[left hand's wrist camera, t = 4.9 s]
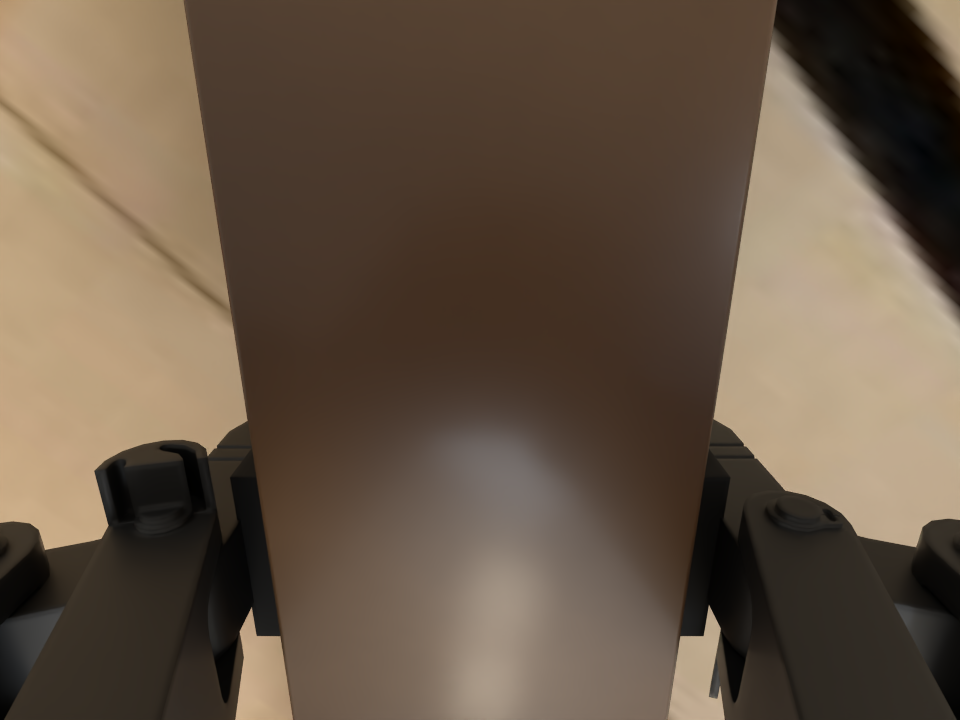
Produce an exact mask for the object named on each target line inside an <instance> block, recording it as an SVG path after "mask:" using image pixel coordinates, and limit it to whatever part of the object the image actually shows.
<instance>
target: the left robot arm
mask: <svg viewBox="0 0 960 720" xmlns="http://www.w3.org/2000/svg"><path fill="white" fill-rule="evenodd" d="M95 475H96V479H97V483H98V487H99V491H100V494H101V498H102V502H103V506H104V510H105V514H106V517H107V521H108V525H109V526H108V528H107V530H106V532H105V534H104V535H103V537H102V539H99V540H95V541H91V542H85V543H80V544H75V545H70V546H64V547H59V548H54V549H48V550H45V549H44V545H43V542H42V539H41V536H40V533H39V530H38V529H37V528H35V527H34V526H32V525H31V524H29V523H21V522H5V523H0V720H235V717H236V710H237V703H238V695H239V688H240V681H241V673H242V666H243V659H244V656H243V649H242V642H241V637H240V630H241V628H242V625H243V623H244V621H245V619H246V617H247V615H248V613H249V611H250V609H251V607H252V610H253V616H254V622H255V628H256V634H257V636H280V629H279V623H278V616H277V609H276V603H275V596H274V590H273V583H272V577H271V570H270V564H269V557H268V550H267V544H266V537H265V531H264V524H263V518H262V511H261V504H260V498H259V491H258V485H257V478H256V472H255V465H254V458H253V452H252V445H251V439H250V432H249V426H248V421H247V422H245V423H243V424H242V425H240V426H238V427H236V428H235V429H233V430H231V431H230V432H229V433H228V434H227V435H226V436H225V437H224V438H223V440H222V441H221V442H220V443H219V444H218V445H217V449H214V450H213V451H212V452H211V453H210V454H209V456H208V457H207V451H206V448H204V447H203V446H201V445H200V444H198V443H195V442H190V441H185V440H168V441H159V442H154V443H148V444H143V445H140V446H137V447H134V448H131V449H128V450H125V451H122V452H120V453H119V454H117V455H115V456H113V457H111V458H109V459H107V460H106V461H104V462H103V463H102V464H101V465H100V466H99V467H98V468H97V469H96V470H95ZM709 606H710V608H711V610H712V612H713V614H714V616H715V618H716V620H717V622H718V624H719V626H720V628H721V632H720V637H719V642H718V648H717V653H716V659H715V664H714V670H713V675H712V681H711V687H710V694H709V697H712V698H717V697H718V692H719V687H721V694H722V701H723V709H724V716H725V720H960V520H954V519H943V520H935V521H931V522H929V523H928V524H927V525H925V526H924V527H923V528H922V531H921V534H920V537H919V541H918V544H917V547H911V546H905V545H900V544H895V543H889V542H884V541H879V540H873V539H868V538H864V537H860V536H857V534H856V532H855V531H854V529H853V527H852V525H851V524H850V523H849V522H848V520H847V519H846V518H845V517H844V516H843V515H842V514H841V513H840V512H838V511H837V510H835V509H834V508H832V507H831V506H829V505H827V504H826V503H824V502H821V501H819V500H816V499H814V498H811V497H809V496H806V495H802V494H798V493H793V492H789V491H785V490H784V489H783V488H782V487H781V485H780V484H779V483H778V482H777V481H776V480H775V479H774V478H773V476H772V475H771V474H770V473H769V472H768V471H767V470H766V468H765V467H764V466H763V465H762V464H761V463H760V462H759V461H758V459H754V455H753V454H752V453H751V451H750V450H749V449H748V448H747V447H744V444H743V442H742V441H741V440H740V439H739V438H738V437H737V436H736V434H735V433H734V432H733V431H732V430H731V429H729V428H728V427H726V426H724V425H722V424H721V423H719V422H717V421H715V420H714V419H713V424H712V431H711V438H710V444H709V451H708V457H707V464H706V470H705V477H704V483H703V490H702V496H701V503H700V510H699V516H698V523H697V529H696V536H695V542H694V549H693V555H692V562H691V568H690V575H689V582H688V588H687V595H686V601H685V608H684V614H683V621H682V627H681V634H680V636H704V630H705V625H706V619H707V613H708V607H709Z"/></svg>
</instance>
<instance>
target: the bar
mask: <svg viewBox="0 0 960 720" xmlns="http://www.w3.org/2000/svg"><path fill="white" fill-rule="evenodd" d="M184 5H185V12H186V19H187V25H188V32H189V38H190V45H191V51H192V58H193V65H194V71H195V78H196V84H197V91H198V97H199V104H200V110H201V117H202V124H203V130H204V137H205V143H206V150H207V156H208V163H209V170H210V176H211V183H212V189H213V196H214V202H215V209H216V216H217V222H218V229H219V235H220V242H221V248H222V255H223V262H224V268H225V275H226V281H227V288H228V294H229V301H230V307H231V314H232V321H233V327H234V334H235V340H236V347H237V353H238V360H239V367H240V373H241V380H242V386H243V393H244V399H245V406H246V413H247V419H248V426H249V432H250V439H251V445H252V452H253V458H254V465H255V472H256V478H257V485H258V491H259V498H260V504H261V511H262V518H263V524H264V531H265V537H266V544H267V550H268V557H269V564H270V570H271V577H272V583H273V590H274V596H275V603H276V609H277V616H278V623H279V629H280V636H281V642H282V649H283V655H284V662H285V669H286V675H287V682H288V688H289V695H290V701H291V708H292V715H293V720H667V719H668V712H669V706H670V699H671V693H672V686H673V680H674V673H675V667H676V660H677V654H678V647H679V640H680V634H681V627H682V621H683V614H684V608H685V601H686V595H687V588H688V582H689V575H690V568H691V562H692V555H693V549H694V542H695V536H696V529H697V523H698V516H699V510H700V503H701V496H702V490H703V483H704V477H705V470H706V464H707V457H708V451H709V444H710V438H711V431H712V424H713V418H714V411H715V405H716V398H717V392H718V385H719V379H720V372H721V366H722V359H723V352H724V346H725V339H726V333H727V326H728V320H729V313H730V307H731V300H732V294H733V287H734V280H735V274H736V267H737V261H738V254H739V248H740V241H741V235H742V228H743V222H744V215H745V209H746V202H747V195H748V189H749V182H750V176H751V169H752V163H753V156H754V150H755V143H756V137H757V130H758V123H759V117H760V110H761V104H762V97H763V91H764V84H765V78H766V71H767V65H768V58H769V51H770V45H771V38H772V32H773V25H774V19H775V12H776V6H777V0H184Z"/></svg>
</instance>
